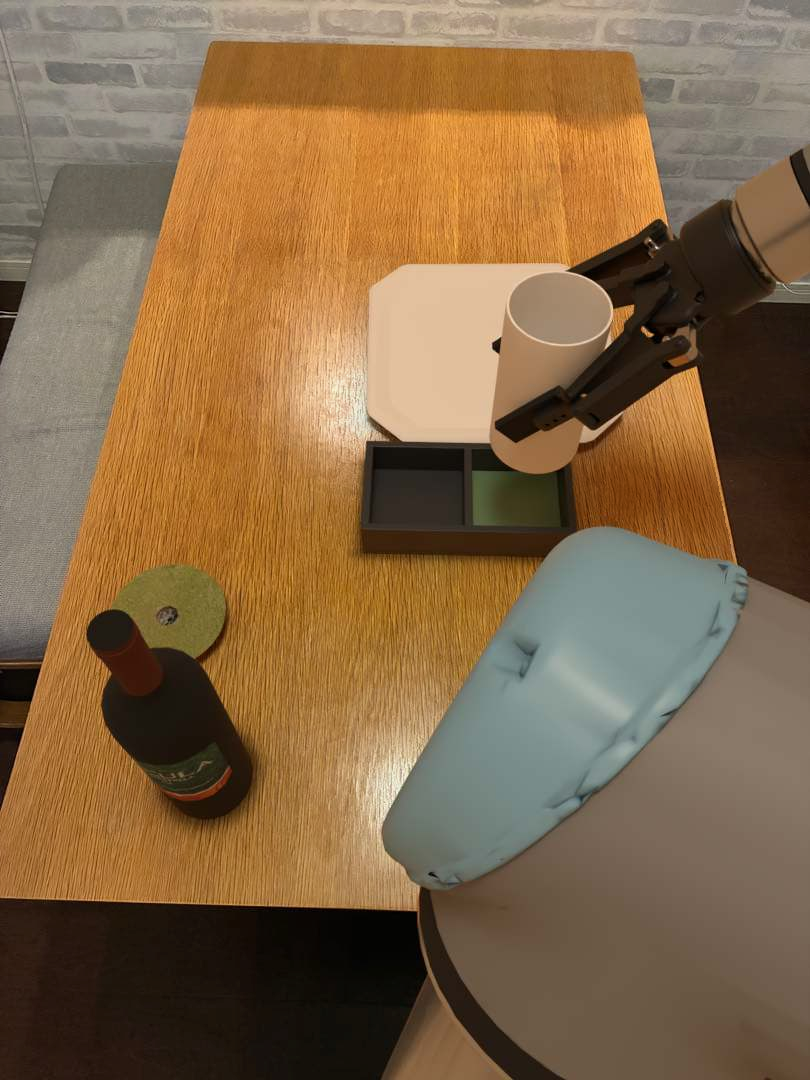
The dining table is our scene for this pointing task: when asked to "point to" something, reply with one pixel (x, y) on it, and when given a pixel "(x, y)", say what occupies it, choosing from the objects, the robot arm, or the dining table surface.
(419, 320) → the plate
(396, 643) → the dining table surface
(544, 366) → the cup
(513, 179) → the dining table surface
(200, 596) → the mat
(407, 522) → the holder
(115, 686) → the wine bottle
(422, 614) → the dining table surface
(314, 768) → the dining table surface
